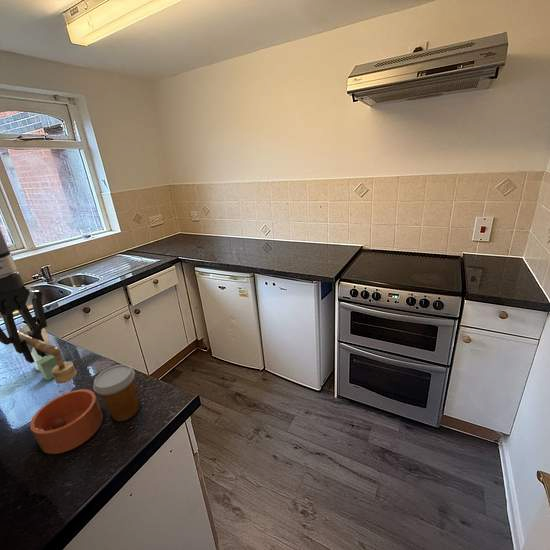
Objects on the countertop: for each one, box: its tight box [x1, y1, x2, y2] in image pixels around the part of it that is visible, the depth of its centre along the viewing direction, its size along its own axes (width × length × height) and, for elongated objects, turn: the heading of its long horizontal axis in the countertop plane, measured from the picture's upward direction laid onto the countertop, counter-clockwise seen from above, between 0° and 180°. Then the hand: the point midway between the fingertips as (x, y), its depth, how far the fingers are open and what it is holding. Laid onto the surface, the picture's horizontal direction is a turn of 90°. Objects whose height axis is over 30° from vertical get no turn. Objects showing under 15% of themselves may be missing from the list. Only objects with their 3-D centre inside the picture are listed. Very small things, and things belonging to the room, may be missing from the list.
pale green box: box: [36, 352, 66, 382], centre depth 96 cm, size 3×6×6 cm, turn 151°
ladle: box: [18, 332, 78, 384], centre depth 76 cm, size 24×4×8 cm, turn 61°
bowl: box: [29, 388, 104, 455], centre depth 74 cm, size 14×14×6 cm
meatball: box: [52, 418, 66, 430], centre depth 74 cm, size 3×3×3 cm
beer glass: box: [17, 321, 51, 371], centre depth 100 cm, size 7×7×15 cm
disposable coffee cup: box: [92, 364, 140, 422], centre depth 77 cm, size 10×10×12 cm
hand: (36, 358), depth 79 cm, fingers closed on ladle, 2 cm apart
